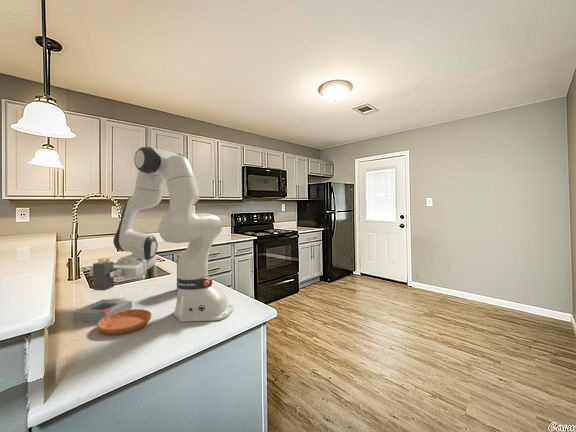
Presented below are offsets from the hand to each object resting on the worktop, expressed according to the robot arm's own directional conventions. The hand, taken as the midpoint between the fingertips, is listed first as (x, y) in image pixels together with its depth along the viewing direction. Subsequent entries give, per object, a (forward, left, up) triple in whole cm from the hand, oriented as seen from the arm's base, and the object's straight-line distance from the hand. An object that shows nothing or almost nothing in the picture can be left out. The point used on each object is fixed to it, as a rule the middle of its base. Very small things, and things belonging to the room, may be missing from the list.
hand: (101, 274), depth 98 cm
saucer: (-15, +7, -16) cm, 23 cm away
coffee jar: (-18, -33, -16) cm, 41 cm away
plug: (0, -1, -5) cm, 6 cm away
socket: (0, -1, -15) cm, 16 cm away
